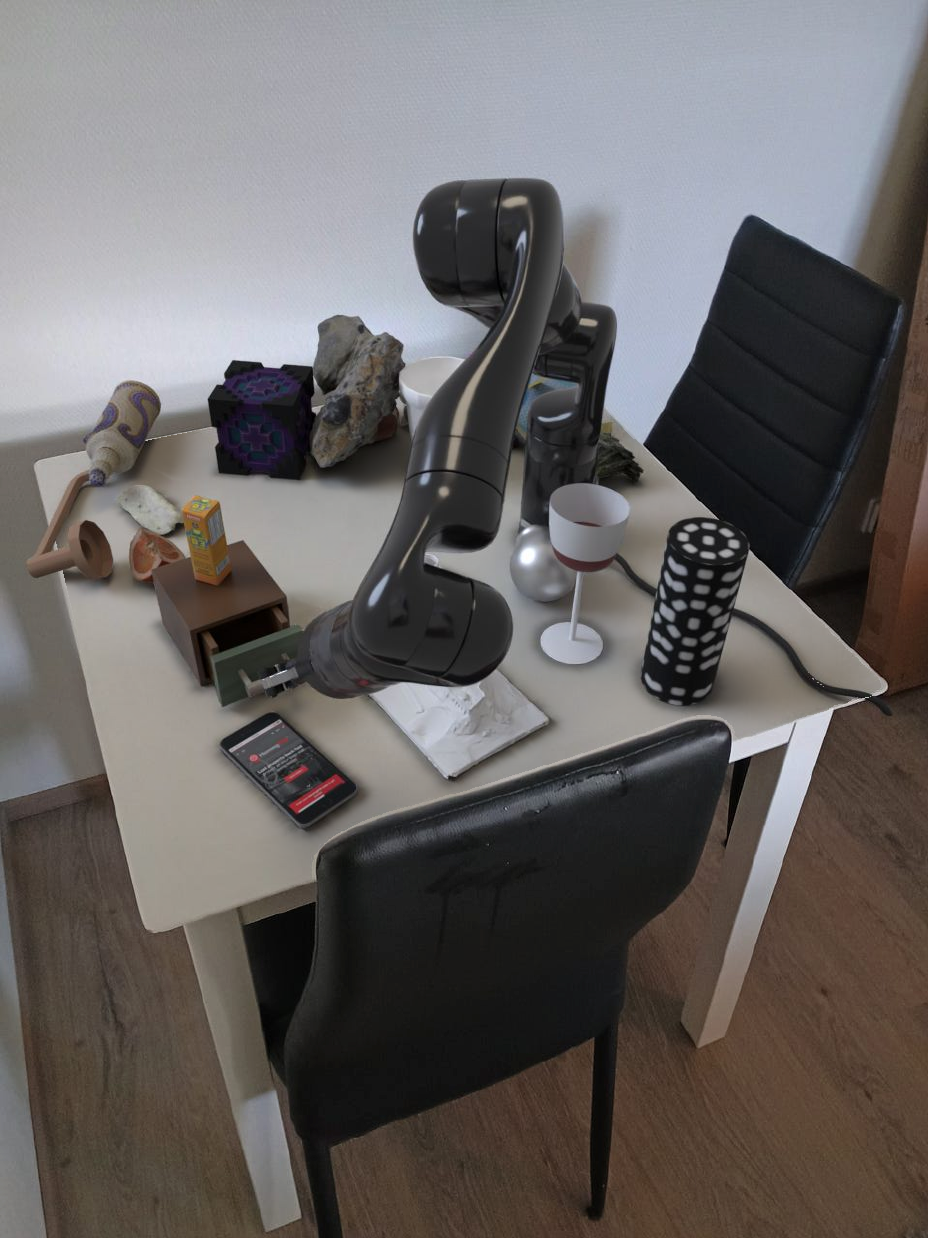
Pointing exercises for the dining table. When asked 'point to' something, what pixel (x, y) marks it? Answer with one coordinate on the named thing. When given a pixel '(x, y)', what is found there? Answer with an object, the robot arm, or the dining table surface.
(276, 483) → the dining table surface
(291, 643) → the drawer
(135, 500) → the white oblong lump
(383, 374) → the rock
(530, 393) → the decorative fish sculpture
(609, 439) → the mineral specimen
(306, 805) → the smartphone
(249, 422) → the energy cube
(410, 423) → the cup
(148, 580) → the fruit slice
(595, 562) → the wineglass
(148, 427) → the decorative bottle
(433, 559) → the white jar
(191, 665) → the cabinet
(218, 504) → the supplement box
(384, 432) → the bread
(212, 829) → the dining table surface
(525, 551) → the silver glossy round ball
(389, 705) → the terrain model
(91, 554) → the long-stemmed smoking pipe
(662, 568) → the white-spotted black cylinder
